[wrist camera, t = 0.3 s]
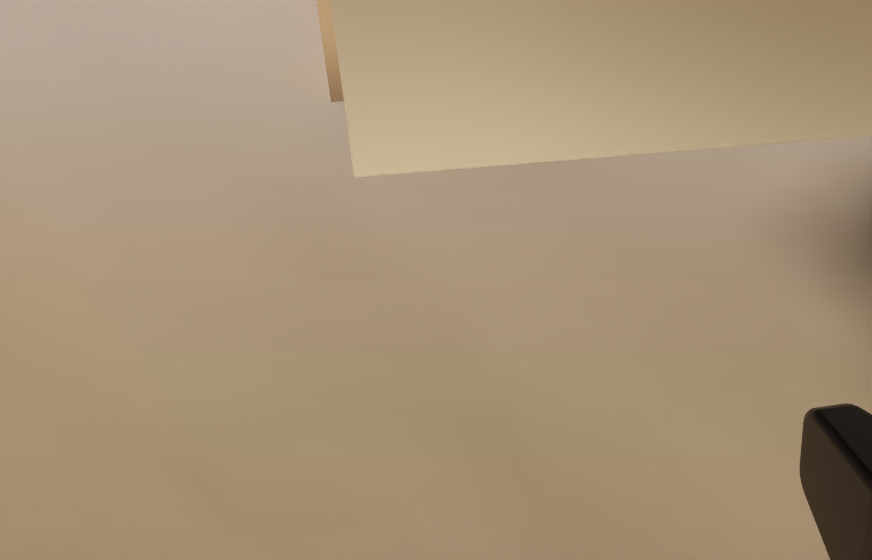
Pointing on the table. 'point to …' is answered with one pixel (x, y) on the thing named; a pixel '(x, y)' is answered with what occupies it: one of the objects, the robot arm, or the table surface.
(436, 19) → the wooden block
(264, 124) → the table surface
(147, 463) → the table surface
